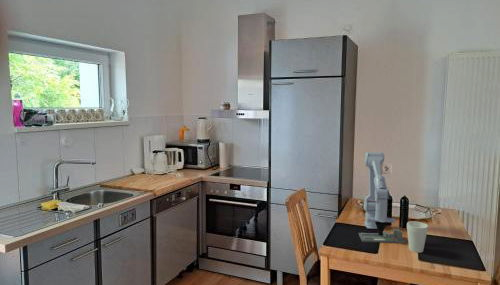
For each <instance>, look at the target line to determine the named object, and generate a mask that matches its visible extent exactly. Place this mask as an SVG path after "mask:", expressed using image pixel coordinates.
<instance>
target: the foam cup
mask: <svg viewBox="0 0 500 285" xmlns="http://www.w3.org/2000/svg"><path fill="white" fill-rule="evenodd" d="M406 230H407V241H408V250H409V251H411V252H414V253H417V254H419V253H423V252H424V248H425V243H426V240H427V235H428V232H429V225H428V224H427V223H424V222H421V221H416V220H414V221H408V222H406Z"/></svg>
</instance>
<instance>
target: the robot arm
mask: <svg viewBox="0 0 500 285" xmlns="http://www.w3.org/2000/svg"><path fill="white" fill-rule="evenodd" d="M384 162H385V154H384V152H383V151H380V152H378V151H376V152H375V151H373V152H372V151H371V152H370V151H366V152H365V154H364V165H365V167H367V169H368V195H367V196H365V197H364V198H363V199H364V200H363V210H364V211H365V215H364V217H365V218H364V219H365V220H364V221H363V225H364V226H365V227H366V229H370V230H371V229H373V230H375V229H376V230H377V233H378V234H379V236H382V234H383V231H385V229H386V227H387V226H388V223H393V224H396V218H394V217H388V216H387V214H388V200H390V190H389V188H388V186H387V183H386V179H385V177H384V176H383V170H382V169H383V168H382V166H383V165H384Z"/></svg>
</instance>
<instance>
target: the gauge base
mask: <svg viewBox="0 0 500 285" xmlns="http://www.w3.org/2000/svg"><path fill="white" fill-rule="evenodd" d="M358 234H359V235H358V237H359V238H360V240H361V242H362V243H381V244H382V243H383V244H387V243H391V244H392V243H394V244H407V240H406V239H405V238H404V237H403V234H404V233H403V231H401V229H400V228H392V233H389V237H382V236H379V234H378V232H377V233H372V232H371V233H369V232H368V233H367V232H358Z"/></svg>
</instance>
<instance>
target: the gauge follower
mask: <svg viewBox="0 0 500 285" xmlns="http://www.w3.org/2000/svg"><path fill="white" fill-rule="evenodd" d="M389 234H390V233H389V232H388V231H386V230H384V231H383V234H382V237H389Z"/></svg>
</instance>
